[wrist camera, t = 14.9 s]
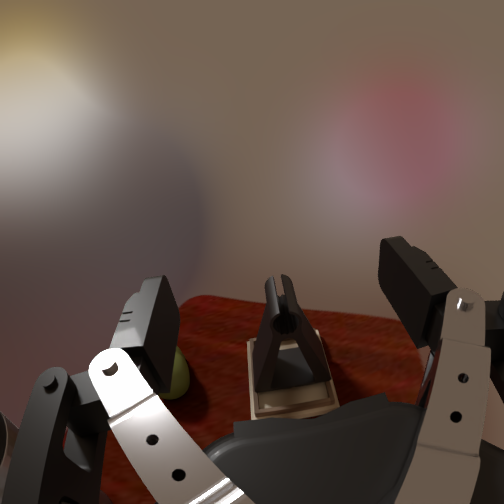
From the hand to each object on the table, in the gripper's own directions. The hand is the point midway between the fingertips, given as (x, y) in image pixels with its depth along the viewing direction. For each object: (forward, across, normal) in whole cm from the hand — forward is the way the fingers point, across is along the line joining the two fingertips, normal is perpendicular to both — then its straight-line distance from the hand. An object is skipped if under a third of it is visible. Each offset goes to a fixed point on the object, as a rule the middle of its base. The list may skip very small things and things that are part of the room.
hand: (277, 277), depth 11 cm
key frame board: (+15, -1, +26) cm, 30 cm away
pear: (+17, +15, +27) cm, 35 cm away
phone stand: (+15, -1, +24) cm, 29 cm away
